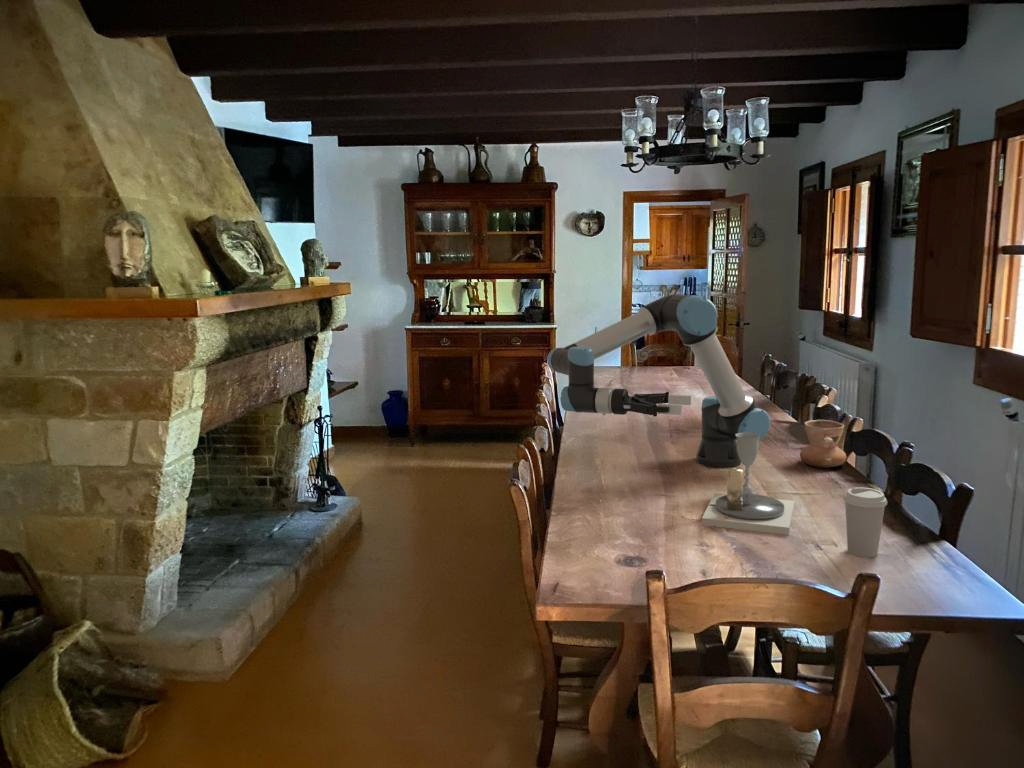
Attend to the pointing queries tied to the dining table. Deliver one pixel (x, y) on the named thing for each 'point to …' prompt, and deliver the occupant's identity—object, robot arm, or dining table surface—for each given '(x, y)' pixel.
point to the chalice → (747, 455)
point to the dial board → (767, 525)
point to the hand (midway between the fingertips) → (686, 404)
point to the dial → (746, 500)
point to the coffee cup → (864, 520)
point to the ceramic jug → (823, 444)
